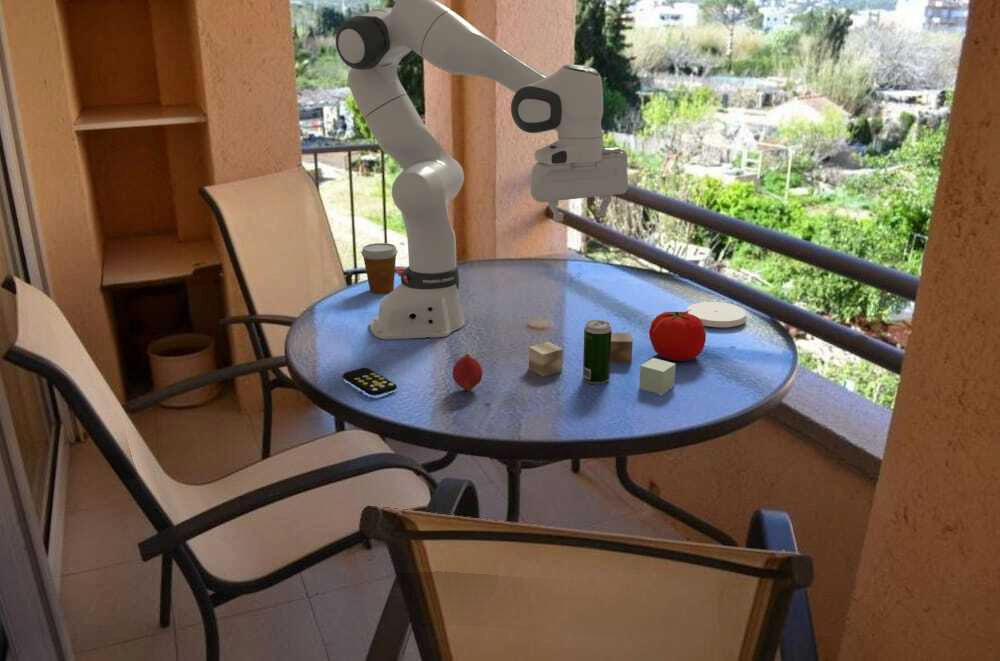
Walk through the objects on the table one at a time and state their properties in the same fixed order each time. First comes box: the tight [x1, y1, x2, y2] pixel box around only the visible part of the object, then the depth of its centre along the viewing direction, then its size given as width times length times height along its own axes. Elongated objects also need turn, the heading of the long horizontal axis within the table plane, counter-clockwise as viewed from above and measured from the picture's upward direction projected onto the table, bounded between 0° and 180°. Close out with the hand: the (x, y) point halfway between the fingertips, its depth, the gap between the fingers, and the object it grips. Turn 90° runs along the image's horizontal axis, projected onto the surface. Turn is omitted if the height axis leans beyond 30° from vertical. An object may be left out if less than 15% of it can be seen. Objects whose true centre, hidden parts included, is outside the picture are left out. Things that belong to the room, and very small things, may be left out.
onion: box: [452, 352, 483, 392], centre depth 164 cm, size 6×6×8 cm
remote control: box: [342, 367, 398, 396], centre depth 168 cm, size 6×13×2 cm, turn 39°
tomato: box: [648, 309, 707, 362], centre depth 179 cm, size 12×12×10 cm
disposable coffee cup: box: [360, 242, 398, 295], centre depth 224 cm, size 10×10×12 cm
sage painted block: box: [638, 357, 677, 395], centre depth 165 cm, size 5×5×5 cm
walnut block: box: [610, 332, 633, 364], centre depth 179 cm, size 5×5×5 cm
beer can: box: [582, 319, 613, 386], centre depth 167 cm, size 5×5×12 cm
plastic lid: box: [685, 301, 748, 328], centre depth 202 cm, size 14×14×2 cm
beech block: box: [528, 341, 564, 377], centre depth 174 cm, size 5×5×5 cm
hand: (579, 219), depth 171 cm, fingers open, 8 cm apart
